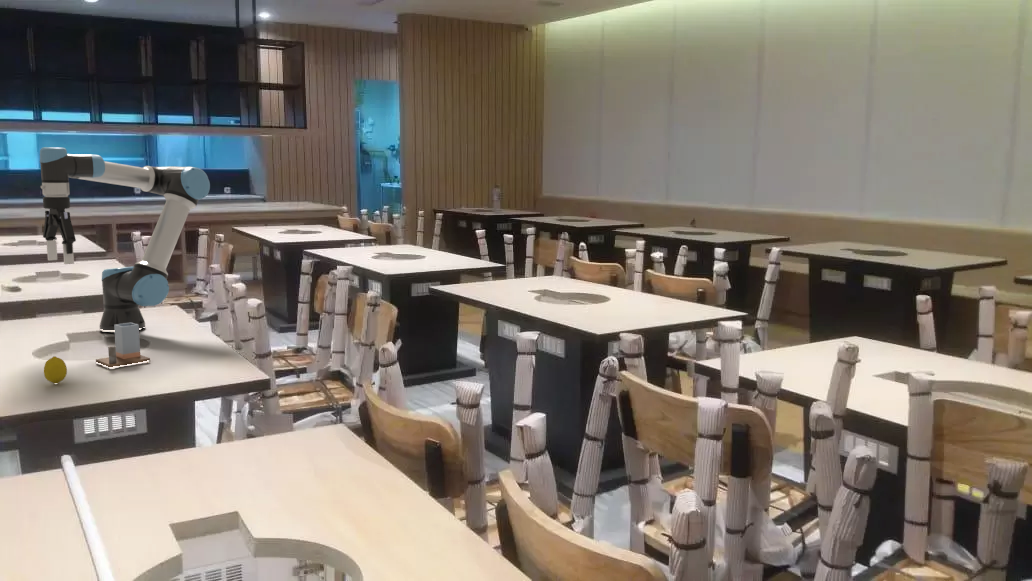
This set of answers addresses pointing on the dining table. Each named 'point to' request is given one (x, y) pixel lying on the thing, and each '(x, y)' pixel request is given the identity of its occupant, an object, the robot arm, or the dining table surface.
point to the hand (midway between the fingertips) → (60, 262)
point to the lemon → (55, 370)
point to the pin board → (119, 359)
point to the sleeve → (127, 340)
